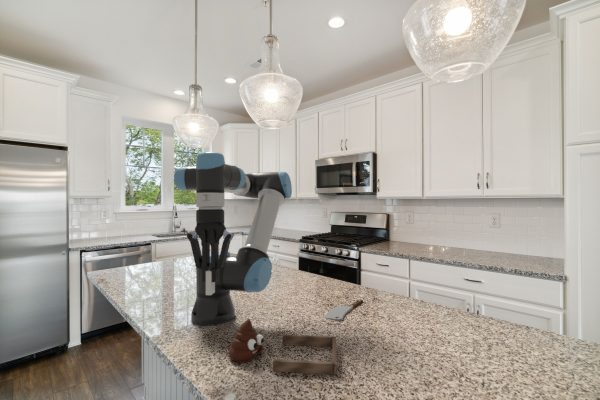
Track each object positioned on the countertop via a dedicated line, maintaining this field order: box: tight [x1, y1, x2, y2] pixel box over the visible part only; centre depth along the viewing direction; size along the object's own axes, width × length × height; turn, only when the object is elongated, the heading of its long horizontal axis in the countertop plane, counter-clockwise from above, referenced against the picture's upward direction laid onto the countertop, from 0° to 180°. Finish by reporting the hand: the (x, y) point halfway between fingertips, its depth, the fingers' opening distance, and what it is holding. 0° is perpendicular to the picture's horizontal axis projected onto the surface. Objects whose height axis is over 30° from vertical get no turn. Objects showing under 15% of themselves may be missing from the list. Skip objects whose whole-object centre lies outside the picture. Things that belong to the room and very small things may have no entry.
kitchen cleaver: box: [321, 299, 364, 322], centre depth 114 cm, size 24×1×10 cm
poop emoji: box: [228, 318, 265, 363], centre depth 80 cm, size 10×8×9 cm
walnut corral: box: [272, 333, 338, 376], centre depth 78 cm, size 16×15×2 cm
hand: (210, 293), depth 81 cm, fingers closed
